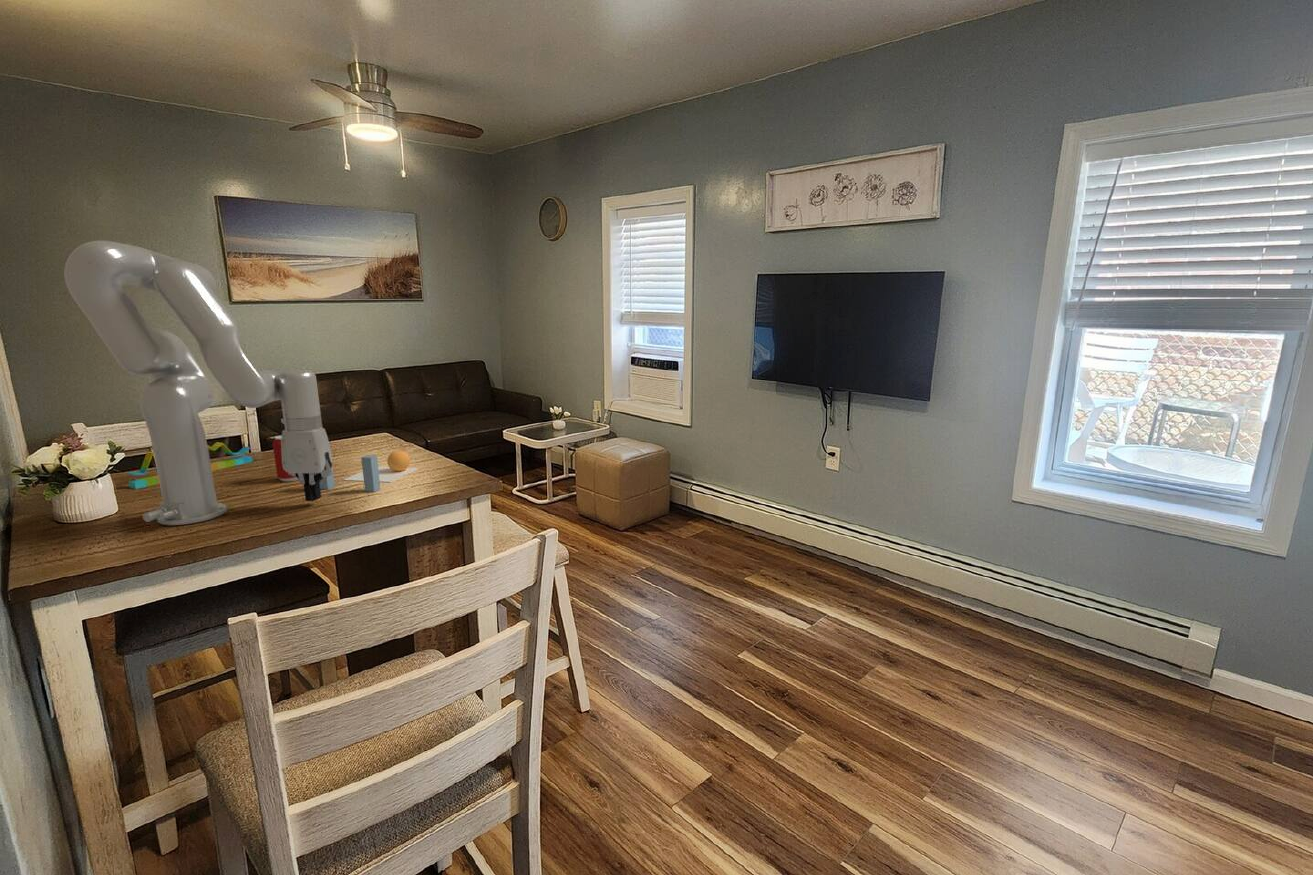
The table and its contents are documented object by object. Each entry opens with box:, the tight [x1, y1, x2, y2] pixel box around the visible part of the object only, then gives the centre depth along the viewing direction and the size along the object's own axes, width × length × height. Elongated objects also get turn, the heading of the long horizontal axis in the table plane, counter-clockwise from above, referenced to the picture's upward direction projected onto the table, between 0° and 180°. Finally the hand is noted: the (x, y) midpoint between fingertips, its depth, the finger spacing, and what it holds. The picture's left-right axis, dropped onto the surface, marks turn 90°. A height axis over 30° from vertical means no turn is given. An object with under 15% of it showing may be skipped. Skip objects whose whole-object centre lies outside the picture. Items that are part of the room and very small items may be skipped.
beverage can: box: [272, 434, 300, 482], centre depth 165 cm, size 6×6×12 cm
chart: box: [127, 441, 254, 490], centre depth 172 cm, size 30×3×15 cm, turn 156°
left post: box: [319, 467, 336, 491], centre depth 158 cm, size 3×3×9 cm
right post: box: [360, 454, 381, 493], centre depth 155 cm, size 3×3×9 cm
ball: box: [386, 450, 411, 471], centre depth 173 cm, size 6×6×6 cm
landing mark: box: [343, 465, 419, 483], centre depth 171 cm, size 14×14×1 cm
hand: (313, 499), depth 145 cm, fingers closed
